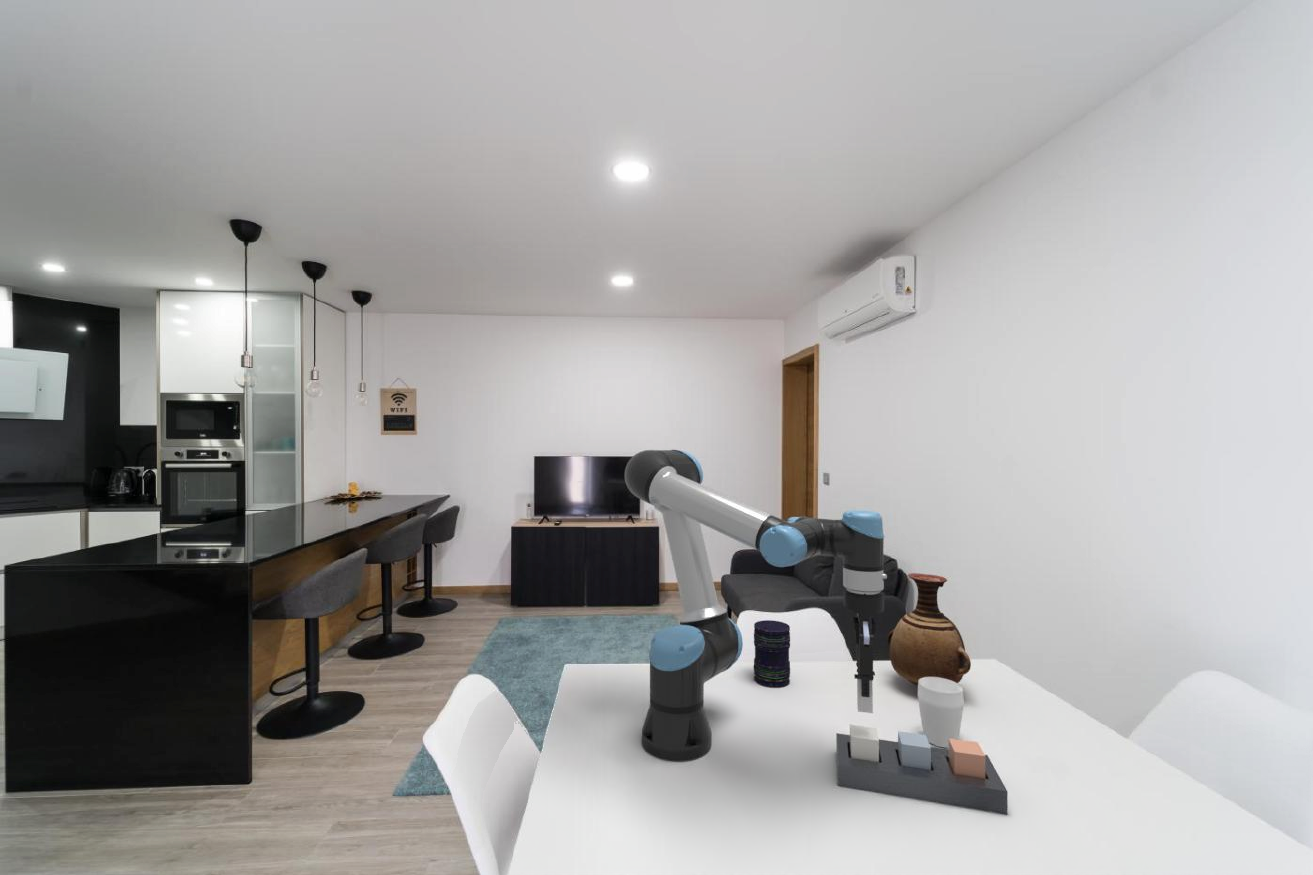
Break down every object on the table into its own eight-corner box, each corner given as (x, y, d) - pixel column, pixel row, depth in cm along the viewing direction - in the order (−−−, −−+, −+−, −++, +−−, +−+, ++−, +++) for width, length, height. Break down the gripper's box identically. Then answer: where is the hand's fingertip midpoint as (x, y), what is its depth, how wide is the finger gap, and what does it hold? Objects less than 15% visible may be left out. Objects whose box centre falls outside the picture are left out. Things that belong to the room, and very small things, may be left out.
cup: (970, 753, 115) (970, 695, 116) (924, 748, 117) (923, 691, 117) (956, 732, 124) (955, 678, 124) (913, 727, 126) (912, 674, 126)
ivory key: (851, 762, 107) (851, 736, 107) (849, 749, 111) (849, 724, 111) (879, 767, 105) (878, 740, 105) (876, 753, 110) (876, 728, 110)
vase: (871, 678, 153) (871, 569, 154) (924, 670, 159) (923, 566, 159) (931, 713, 133) (930, 588, 134) (989, 703, 138) (988, 583, 139)
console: (838, 785, 104) (838, 764, 104) (836, 752, 115) (836, 733, 115) (1007, 814, 96) (1007, 791, 96) (987, 775, 107) (987, 755, 107)
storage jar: (769, 670, 158) (769, 618, 159) (797, 681, 151) (797, 626, 151) (746, 679, 152) (746, 624, 152) (774, 691, 145) (774, 634, 145)
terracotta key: (954, 779, 101) (954, 751, 102) (948, 764, 106) (948, 738, 106) (985, 784, 100) (985, 756, 100) (977, 768, 105) (977, 742, 105)
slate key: (901, 770, 104) (901, 744, 104) (898, 756, 109) (898, 731, 109) (930, 775, 103) (930, 748, 103) (925, 761, 107) (925, 735, 107)
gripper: (887, 599, 102) (889, 729, 101) (880, 583, 114) (882, 699, 113) (845, 596, 104) (846, 723, 103) (842, 581, 116) (843, 694, 116)
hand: (865, 710), depth 108 cm, fingers closed
